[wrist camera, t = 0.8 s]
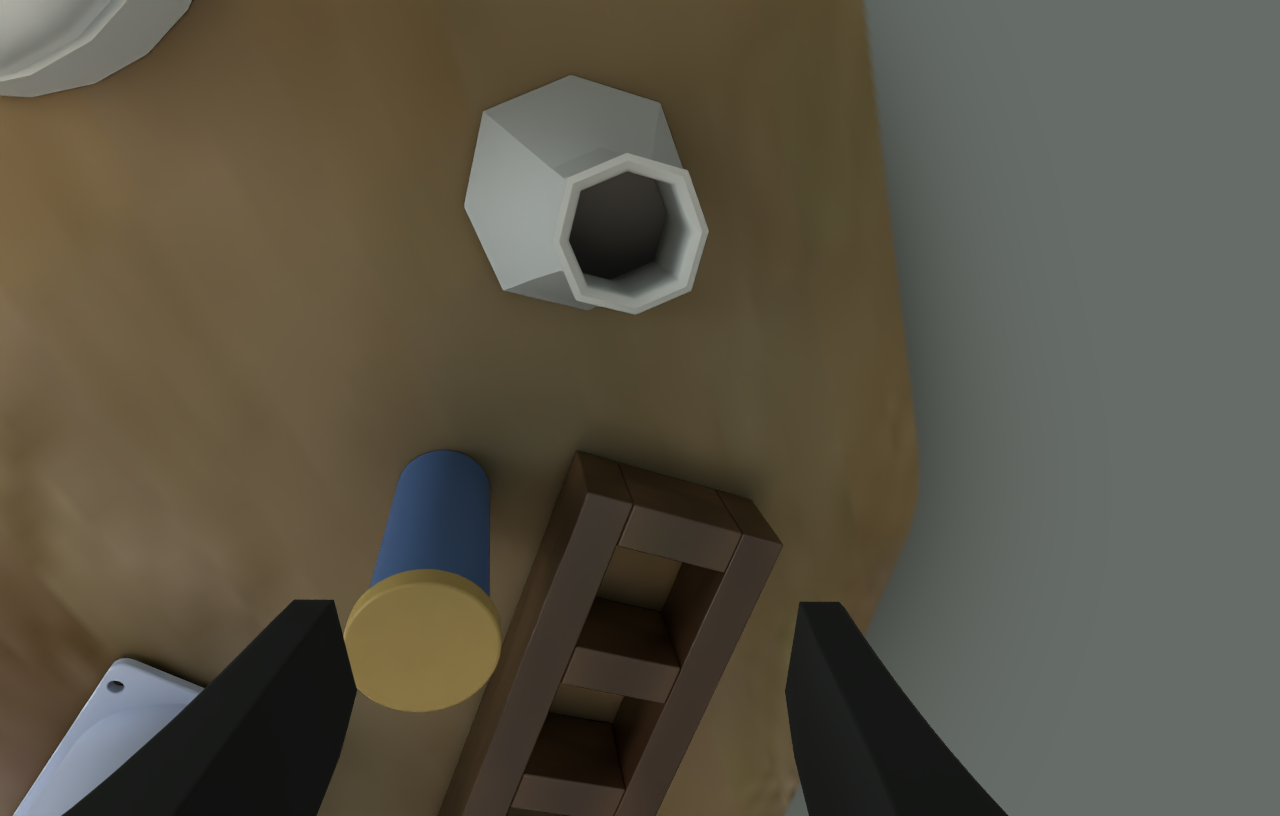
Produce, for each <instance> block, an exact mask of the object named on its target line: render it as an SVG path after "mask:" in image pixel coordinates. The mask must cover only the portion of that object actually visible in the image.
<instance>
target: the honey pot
mask: <svg viewBox="0 0 1280 816" xmlns="http://www.w3.org/2000/svg"><path fill="white" fill-rule="evenodd" d="M191 2H192V0H0V96H17V97H36V96H40V95H45V94H50V93H54V92H59V91H63V90H68V89H73V88H77V87H82V86H86V85H91V84H95V83H97V82H99V81H101V80H102V79H104V78H106V77H108V76H109V75H111V74H113V73H115V72H117V71H118V70H120V69H122V68H124V67H125V66H127V65H129V64H131V63H132V62H134V61H136V60H138V59H140V58H141V57H143V56H145V55H147V54H148V53H149V52H150V51H151V50H152V49H153V48H154V46H155V45H156V44H157V43H158V42H159V41H160V40H161V39H162V38H163V37H164V35H165V34H166V33H167V32H168V31H169V30H170V29H171V28H172V27H173V25H174V24H175V23H176V22H177V21H178V20H179V19H180V18H181V17H182V16H183V14H184V13H185V12H186V11H187V10H188V8H189V6H190V4H191Z"/></svg>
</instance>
